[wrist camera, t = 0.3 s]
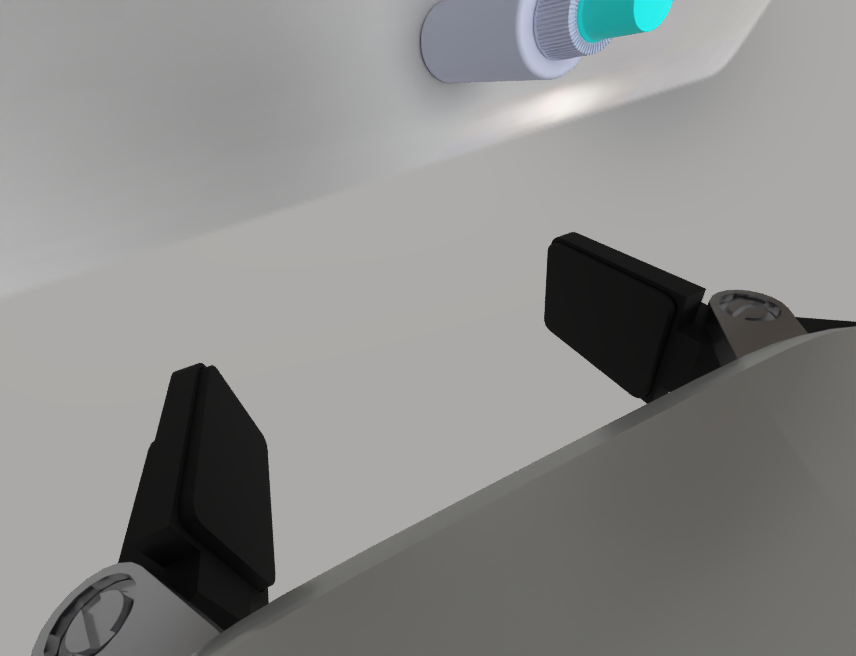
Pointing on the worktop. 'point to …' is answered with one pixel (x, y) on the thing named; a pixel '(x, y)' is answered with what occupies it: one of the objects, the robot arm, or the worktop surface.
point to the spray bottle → (527, 35)
